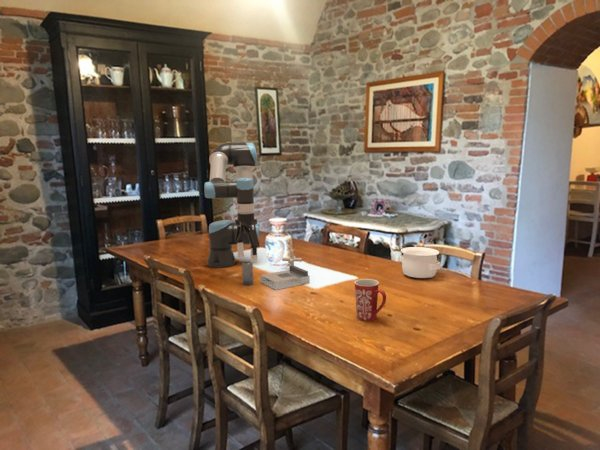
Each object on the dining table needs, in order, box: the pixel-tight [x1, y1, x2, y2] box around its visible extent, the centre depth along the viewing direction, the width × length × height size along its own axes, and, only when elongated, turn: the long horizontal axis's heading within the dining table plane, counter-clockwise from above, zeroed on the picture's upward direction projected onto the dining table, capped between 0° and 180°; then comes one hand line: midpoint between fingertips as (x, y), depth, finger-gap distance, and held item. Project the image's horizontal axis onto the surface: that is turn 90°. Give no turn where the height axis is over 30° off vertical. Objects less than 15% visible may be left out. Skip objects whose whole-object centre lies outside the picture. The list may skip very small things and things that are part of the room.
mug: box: [353, 278, 387, 322], centre depth 171 cm, size 13×9×14 cm
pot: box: [399, 246, 441, 279], centre depth 224 cm, size 22×17×12 cm
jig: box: [259, 265, 311, 291], centre depth 216 cm, size 14×18×6 cm
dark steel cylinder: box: [241, 261, 254, 286], centre depth 215 cm, size 5×5×10 cm
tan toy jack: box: [281, 249, 303, 267], centre depth 239 cm, size 10×10×10 cm
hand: (247, 259), depth 213 cm, fingers open, 13 cm apart
